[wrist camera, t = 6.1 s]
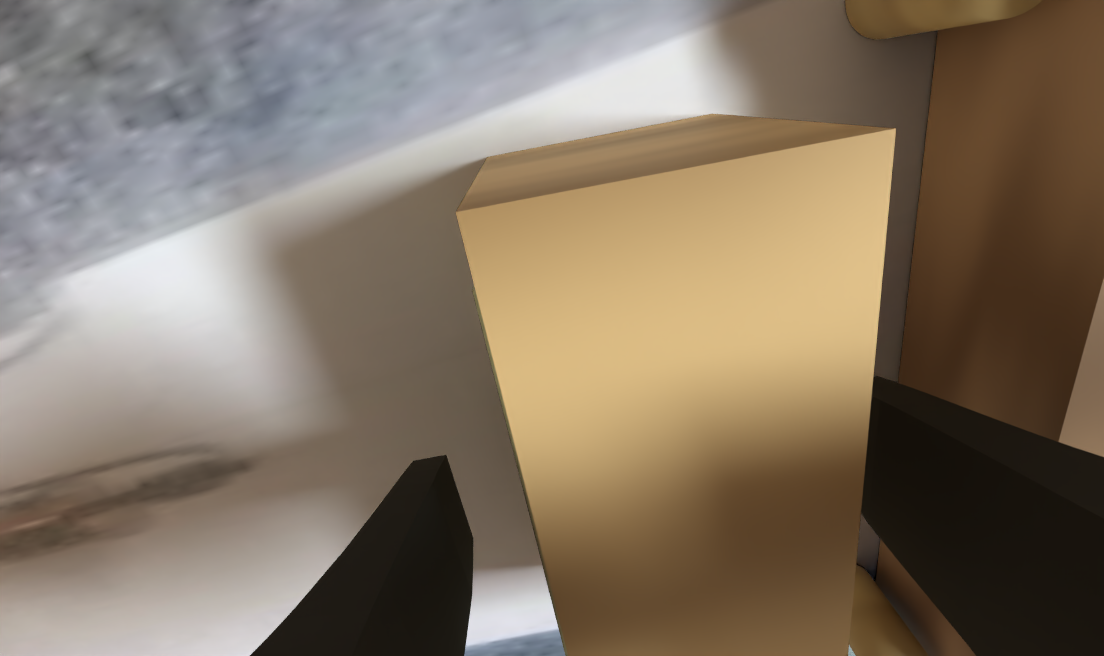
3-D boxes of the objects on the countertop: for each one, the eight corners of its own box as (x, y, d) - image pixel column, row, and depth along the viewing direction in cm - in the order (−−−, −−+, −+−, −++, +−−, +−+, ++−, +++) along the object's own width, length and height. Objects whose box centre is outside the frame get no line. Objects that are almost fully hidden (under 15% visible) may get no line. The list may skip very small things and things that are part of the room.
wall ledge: (946, 582, 14) (1070, 722, 11) (816, 605, 14) (901, 751, 11) (1130, -370, 7) (1665, -781, 4) (860, -314, 7) (1150, -664, 4)
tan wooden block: (729, 529, 13) (838, 757, 9) (569, 558, 13) (595, 797, 9) (709, 113, 9) (895, 128, 5) (479, 157, 9) (439, 215, 5)
